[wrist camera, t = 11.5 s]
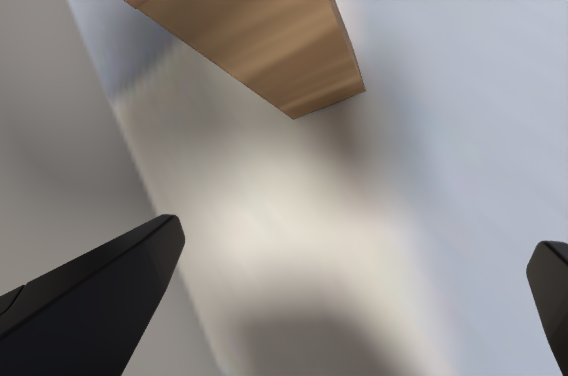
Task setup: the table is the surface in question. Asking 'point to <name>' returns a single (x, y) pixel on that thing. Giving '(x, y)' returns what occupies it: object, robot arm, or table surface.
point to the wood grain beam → (269, 46)
